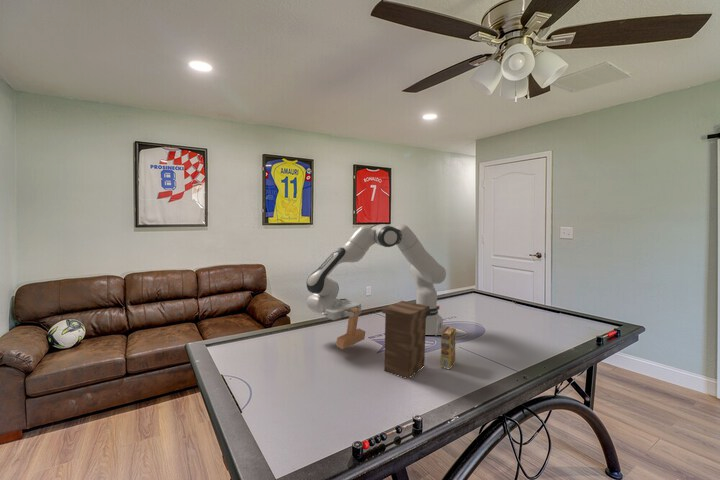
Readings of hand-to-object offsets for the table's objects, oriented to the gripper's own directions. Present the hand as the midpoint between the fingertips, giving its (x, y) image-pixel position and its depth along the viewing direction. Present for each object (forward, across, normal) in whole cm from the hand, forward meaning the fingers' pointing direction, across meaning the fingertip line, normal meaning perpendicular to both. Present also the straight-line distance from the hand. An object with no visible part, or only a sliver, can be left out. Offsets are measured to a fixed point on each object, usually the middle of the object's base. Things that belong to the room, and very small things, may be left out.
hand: (357, 313), depth 152 cm
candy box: (+38, +15, +18) cm, 45 cm away
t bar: (-4, 0, +6) cm, 7 cm away
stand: (+25, 0, +18) cm, 31 cm away
